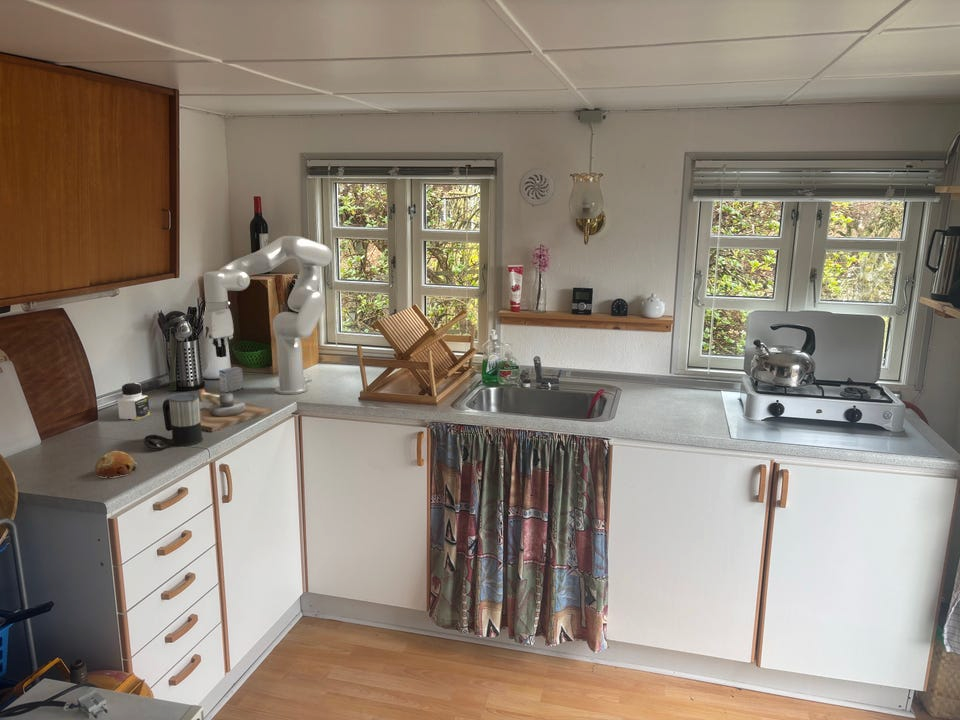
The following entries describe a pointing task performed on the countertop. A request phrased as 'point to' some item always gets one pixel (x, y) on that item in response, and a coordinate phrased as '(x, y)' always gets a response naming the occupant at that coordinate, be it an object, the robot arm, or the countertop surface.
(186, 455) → the countertop surface
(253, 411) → the board
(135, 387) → the medicine bottle
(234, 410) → the grey disc with handle
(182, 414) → the milk frother
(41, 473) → the countertop surface
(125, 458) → the bread roll
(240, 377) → the medicine box
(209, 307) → the robot arm
